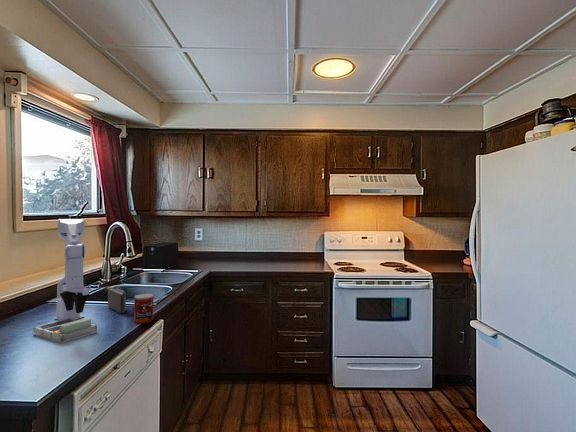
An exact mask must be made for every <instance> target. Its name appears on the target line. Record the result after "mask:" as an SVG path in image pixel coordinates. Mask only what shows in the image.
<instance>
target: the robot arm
mask: <svg viewBox="0 0 576 432" xmlns="http://www.w3.org/2000/svg"><path fill="white" fill-rule="evenodd" d="M84 233H85V220H84V219H83V218H58V220H57V236H58V238H59V239H62V240H63V242H64V251H63V252H64V276H63V277H61V278H60V279H59V280H58V281H57V286H56V288H57V289H56V290H57V291H56V297H57V298H58V300H57V302H56V306H55V307H56V311H55V313H56V317H53V318H54V320H57V321H59V320H63V319H67V318H71V319H75V320H80V319H84V318H85V316H84V315H81V313H83V311H84V307H85V305H86V302H87V301H88V298H89V297H90V289H89V288H87V287H85V286H84V260H85V257H86V256H85V255H86V247H85V244H84V243H83V241H82V237H83V235H84Z"/></svg>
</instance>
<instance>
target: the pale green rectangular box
mask: <svg viewBox="0 0 576 432" xmlns="http://www.w3.org/2000/svg"><path fill="white" fill-rule="evenodd" d="M76 320H77V321H73V322H70V323H66V324H62V325H60V332H61V334H66V333H69V332H73V331H76V330H79V329H83V328H86V327H90V326H91V324H92V319H91V318H87V317H83V318H80V319H76Z"/></svg>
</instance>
